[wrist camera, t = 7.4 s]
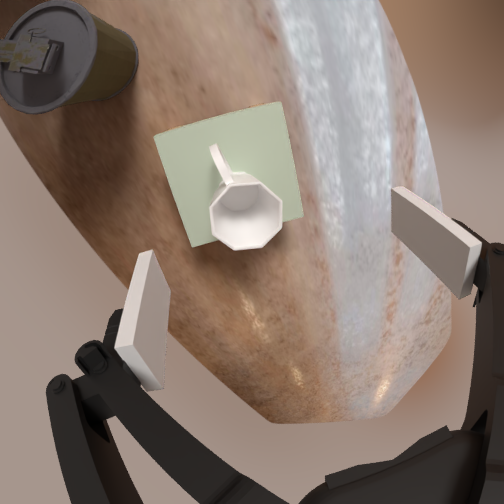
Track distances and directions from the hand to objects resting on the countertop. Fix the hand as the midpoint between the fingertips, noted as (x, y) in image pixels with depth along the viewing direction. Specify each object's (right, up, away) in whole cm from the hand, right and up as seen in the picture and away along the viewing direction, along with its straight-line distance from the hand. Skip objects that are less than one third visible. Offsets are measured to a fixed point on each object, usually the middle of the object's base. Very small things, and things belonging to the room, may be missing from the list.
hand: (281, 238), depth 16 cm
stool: (-5, +12, +25) cm, 28 cm away
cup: (-4, +8, +18) cm, 20 cm away
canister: (-21, +24, +16) cm, 36 cm away
